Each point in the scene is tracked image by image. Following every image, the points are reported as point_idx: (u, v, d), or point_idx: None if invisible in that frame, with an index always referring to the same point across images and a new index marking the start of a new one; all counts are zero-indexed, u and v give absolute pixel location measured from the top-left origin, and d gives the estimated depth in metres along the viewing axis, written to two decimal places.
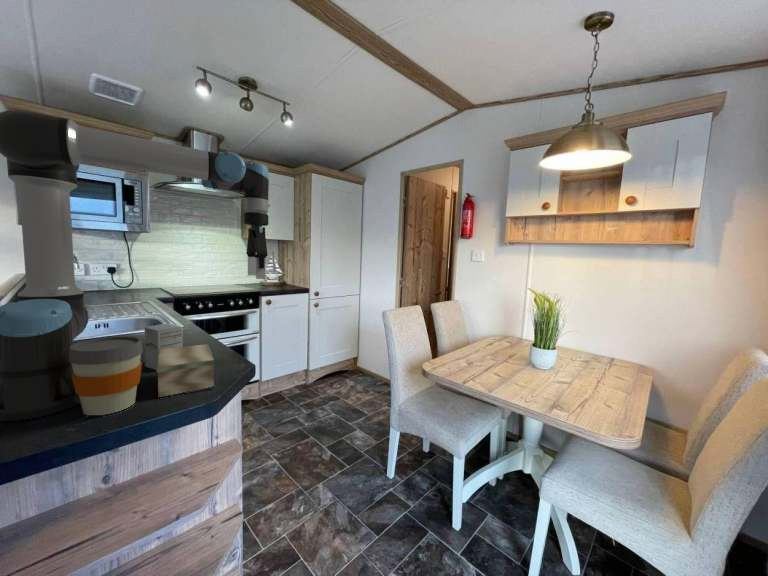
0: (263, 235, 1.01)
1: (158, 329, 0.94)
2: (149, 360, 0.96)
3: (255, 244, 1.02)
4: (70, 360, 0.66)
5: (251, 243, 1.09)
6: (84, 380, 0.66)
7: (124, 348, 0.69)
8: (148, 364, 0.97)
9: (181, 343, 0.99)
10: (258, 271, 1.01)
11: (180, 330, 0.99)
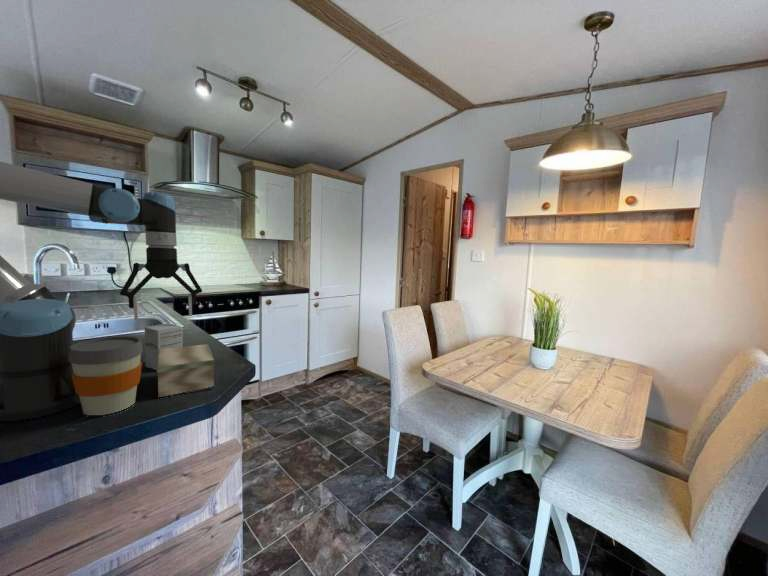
0: None
1: (158, 329, 0.94)
2: (149, 360, 0.96)
3: None
4: (70, 360, 0.66)
5: None
6: (84, 380, 0.66)
7: (124, 348, 0.69)
8: (148, 364, 0.97)
9: (181, 343, 0.99)
10: None
11: (180, 330, 0.99)
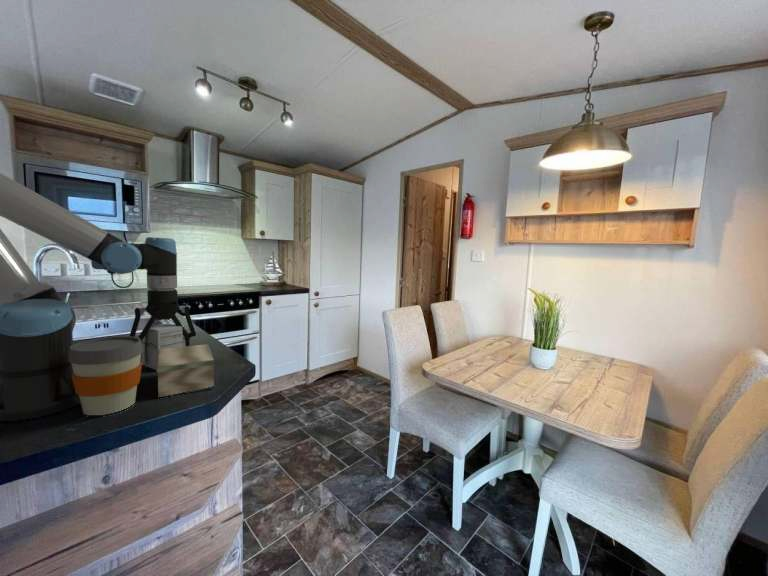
0: None
1: (158, 329, 0.94)
2: (149, 360, 0.96)
3: None
4: (70, 360, 0.66)
5: None
6: (84, 380, 0.66)
7: (124, 348, 0.69)
8: (148, 364, 0.97)
9: (181, 343, 0.99)
10: None
11: (180, 330, 0.99)
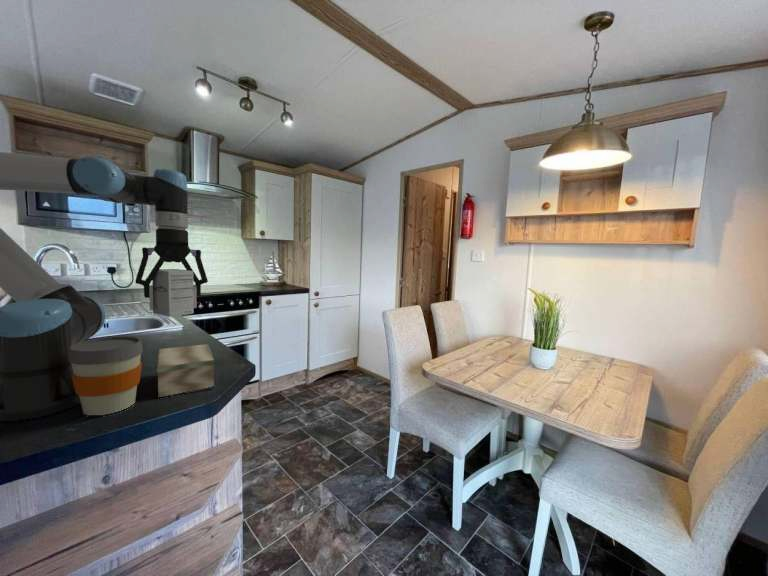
0: (142, 258, 0.85)
1: (168, 270, 0.86)
2: (157, 305, 0.88)
3: None
4: (70, 360, 0.66)
5: (184, 266, 0.92)
6: (84, 380, 0.66)
7: (124, 348, 0.69)
8: (156, 310, 0.89)
9: (192, 289, 0.92)
10: None
11: (191, 275, 0.91)
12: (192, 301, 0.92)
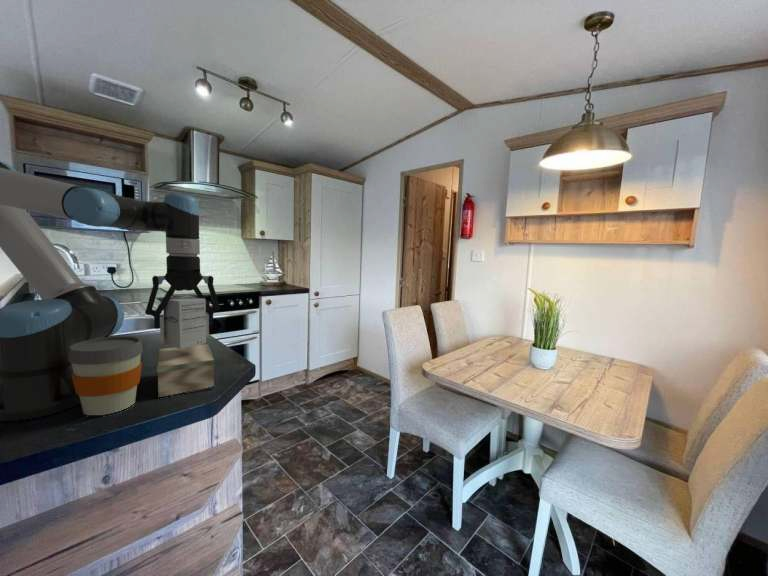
0: None
1: (179, 300, 0.82)
2: (168, 336, 0.84)
3: None
4: (70, 360, 0.66)
5: None
6: (84, 380, 0.66)
7: (124, 348, 0.69)
8: (167, 341, 0.84)
9: (204, 318, 0.87)
10: None
11: (203, 303, 0.86)
12: (204, 330, 0.87)
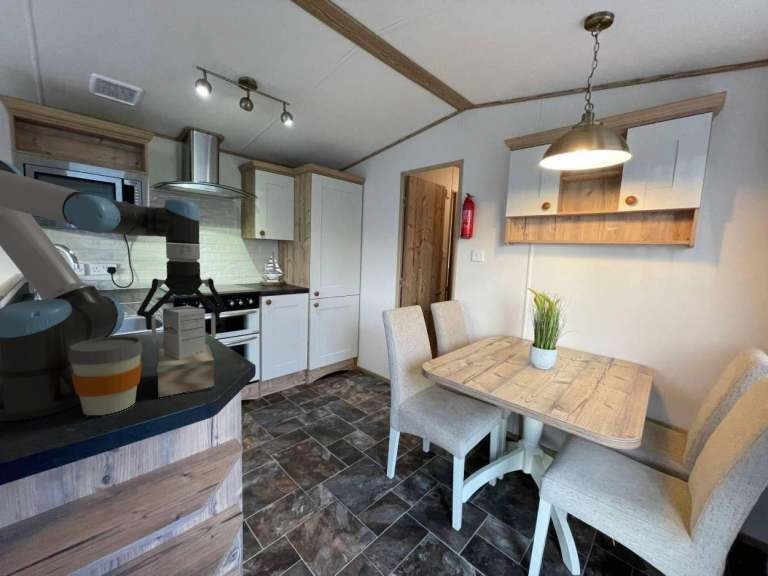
0: (150, 289, 0.80)
1: (178, 311, 0.82)
2: (168, 347, 0.84)
3: None
4: (70, 360, 0.66)
5: None
6: (84, 380, 0.66)
7: (124, 348, 0.69)
8: (167, 351, 0.85)
9: (203, 328, 0.87)
10: None
11: (203, 313, 0.87)
12: (204, 340, 0.88)
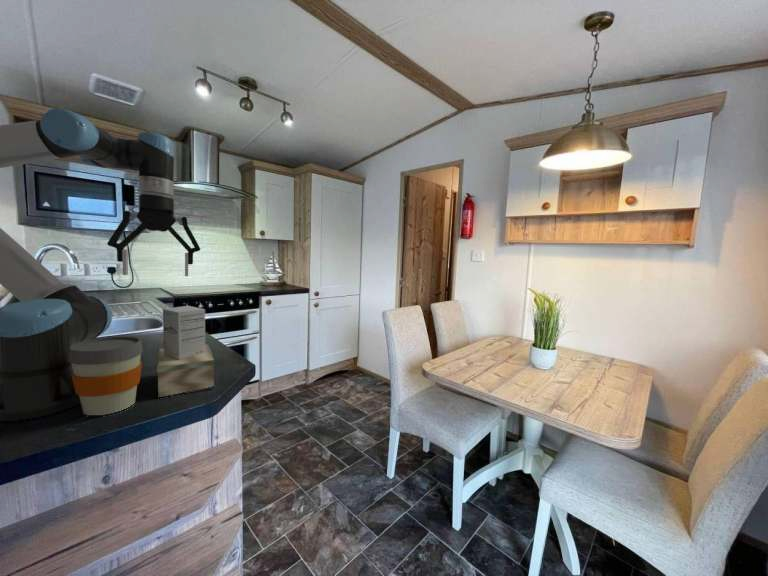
0: (121, 221, 0.81)
1: (178, 311, 0.82)
2: (168, 347, 0.84)
3: None
4: (70, 360, 0.66)
5: None
6: (84, 380, 0.66)
7: (124, 348, 0.69)
8: (167, 351, 0.85)
9: (203, 328, 0.87)
10: None
11: (203, 313, 0.87)
12: (204, 340, 0.88)
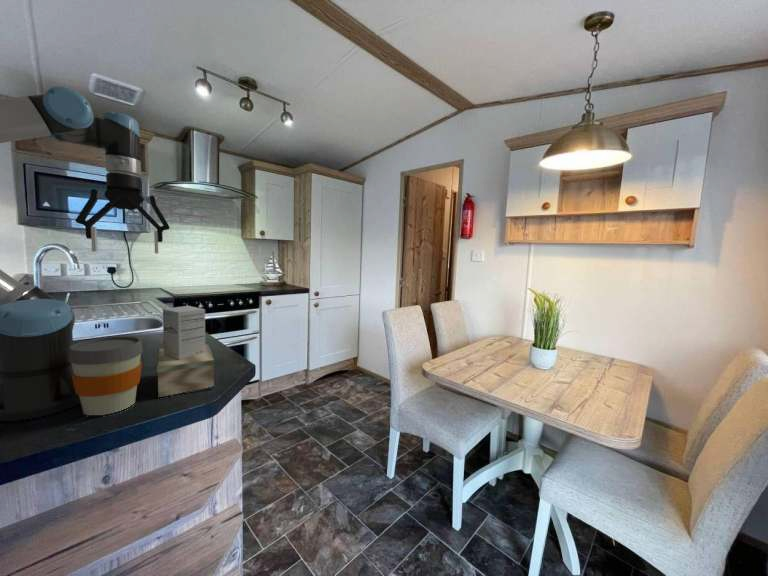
0: None
1: (178, 311, 0.82)
2: (168, 347, 0.84)
3: None
4: (70, 360, 0.66)
5: None
6: (84, 380, 0.66)
7: (124, 348, 0.69)
8: (167, 351, 0.85)
9: (203, 328, 0.87)
10: None
11: (203, 313, 0.87)
12: (204, 340, 0.88)
